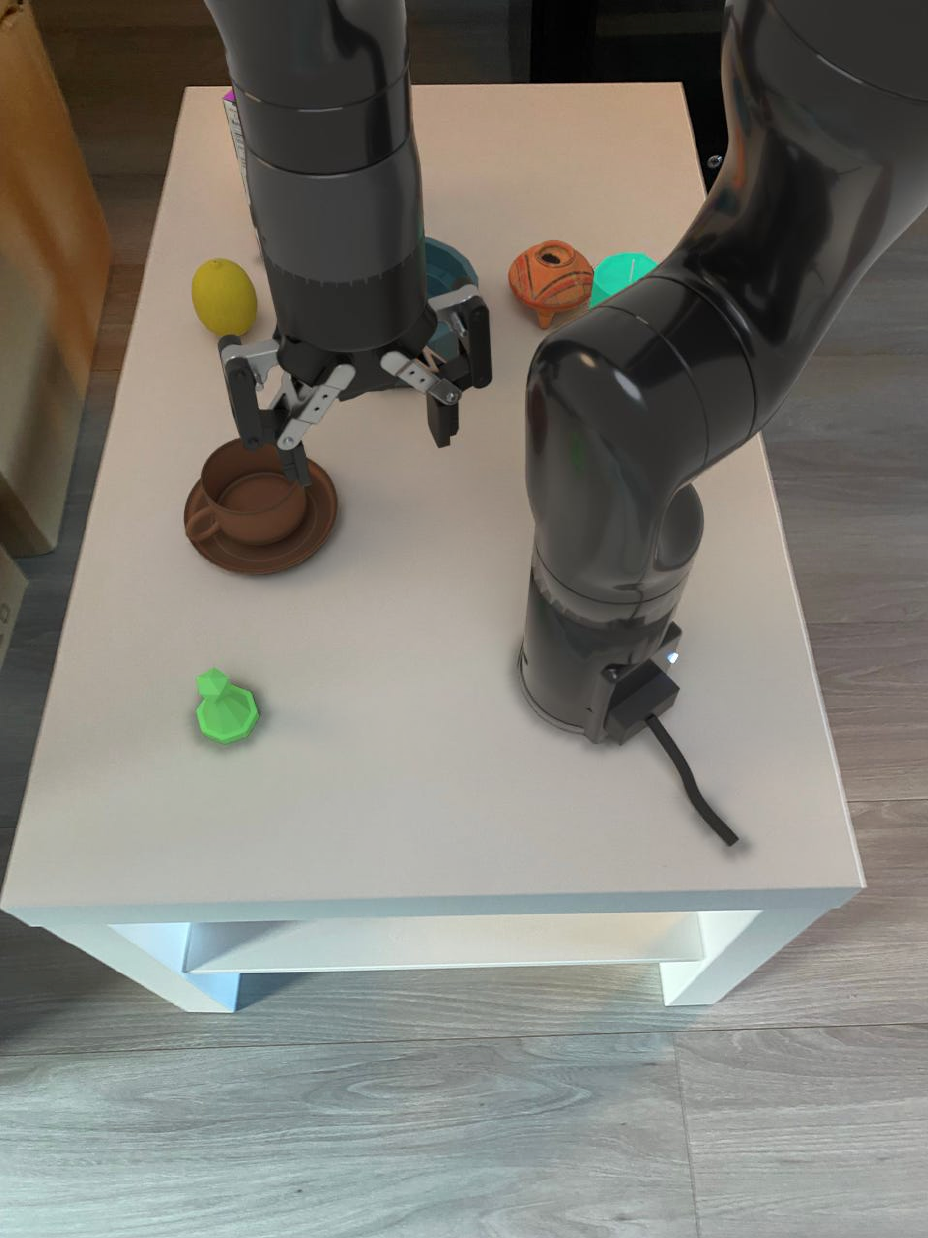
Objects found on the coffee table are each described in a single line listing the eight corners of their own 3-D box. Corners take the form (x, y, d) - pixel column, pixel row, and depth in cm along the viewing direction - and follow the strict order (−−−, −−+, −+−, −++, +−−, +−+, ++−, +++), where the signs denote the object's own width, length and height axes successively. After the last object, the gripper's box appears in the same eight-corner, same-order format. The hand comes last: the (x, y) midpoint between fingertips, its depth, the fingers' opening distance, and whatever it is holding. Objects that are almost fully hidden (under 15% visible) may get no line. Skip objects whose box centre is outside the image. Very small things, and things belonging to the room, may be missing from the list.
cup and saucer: (282, 609, 72) (267, 563, 66) (158, 545, 75) (134, 496, 70) (369, 499, 77) (361, 449, 72) (250, 443, 80) (234, 391, 75)
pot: (486, 315, 87) (495, 244, 83) (532, 286, 92) (544, 217, 87) (558, 349, 85) (573, 278, 80) (602, 318, 89) (618, 249, 85)
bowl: (510, 341, 86) (512, 297, 82) (379, 415, 82) (374, 373, 77) (415, 257, 92) (413, 212, 88) (288, 322, 88) (278, 277, 83)
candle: (610, 408, 82) (630, 297, 72) (566, 368, 84) (579, 254, 74) (662, 378, 84) (688, 265, 73) (617, 339, 86) (637, 224, 76)
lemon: (254, 359, 85) (235, 287, 78) (195, 351, 86) (171, 278, 79) (272, 317, 88) (255, 244, 81) (216, 309, 89) (194, 236, 82)
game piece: (234, 678, 69) (215, 637, 64) (271, 716, 67) (255, 677, 62) (186, 715, 67) (162, 677, 62) (223, 756, 66) (202, 720, 61)
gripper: (202, 312, 40) (271, 538, 54) (518, 234, 42) (506, 469, 56) (167, 205, 43) (240, 442, 57) (460, 138, 46) (462, 382, 60)
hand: (372, 455), depth 57 cm, fingers open, 8 cm apart
